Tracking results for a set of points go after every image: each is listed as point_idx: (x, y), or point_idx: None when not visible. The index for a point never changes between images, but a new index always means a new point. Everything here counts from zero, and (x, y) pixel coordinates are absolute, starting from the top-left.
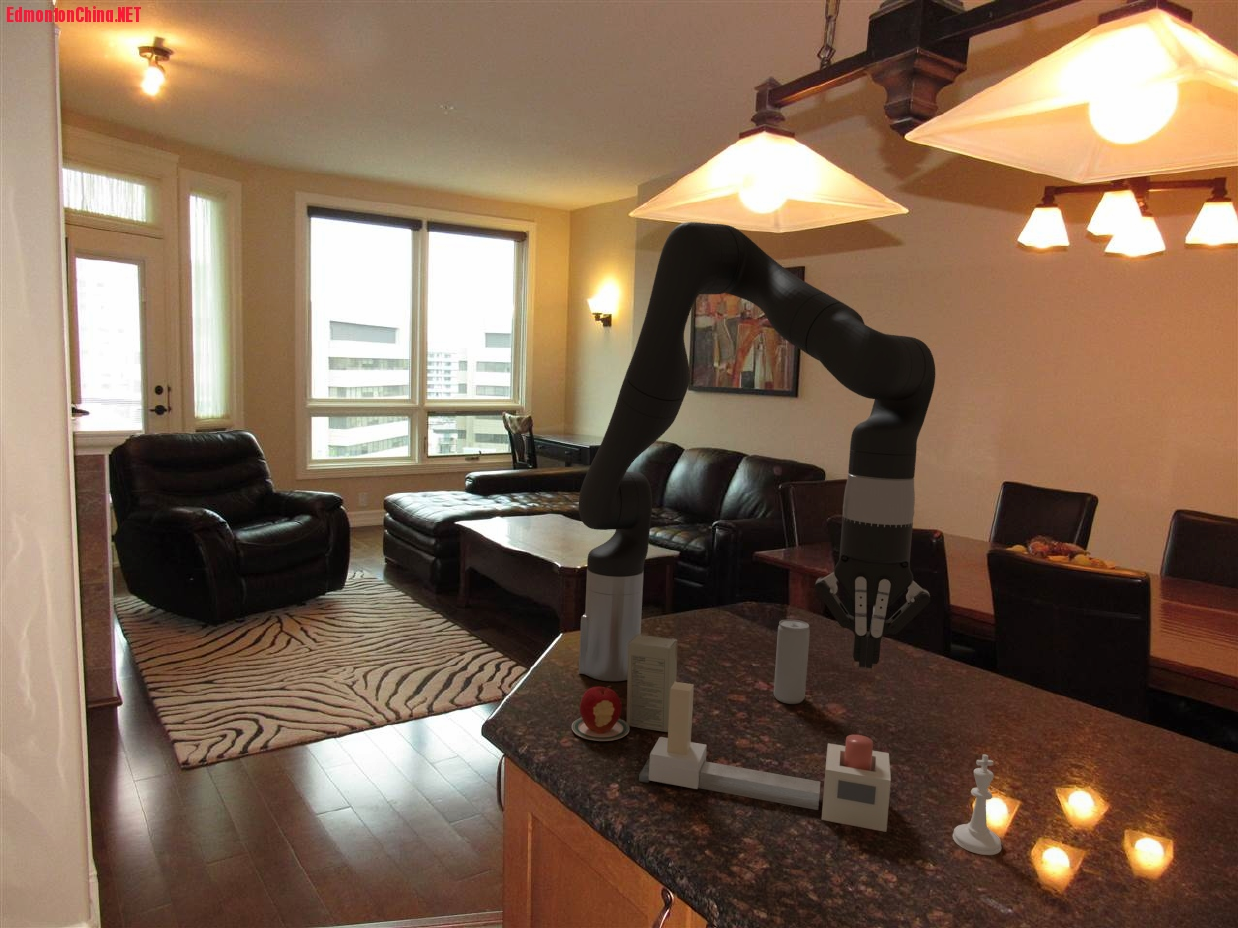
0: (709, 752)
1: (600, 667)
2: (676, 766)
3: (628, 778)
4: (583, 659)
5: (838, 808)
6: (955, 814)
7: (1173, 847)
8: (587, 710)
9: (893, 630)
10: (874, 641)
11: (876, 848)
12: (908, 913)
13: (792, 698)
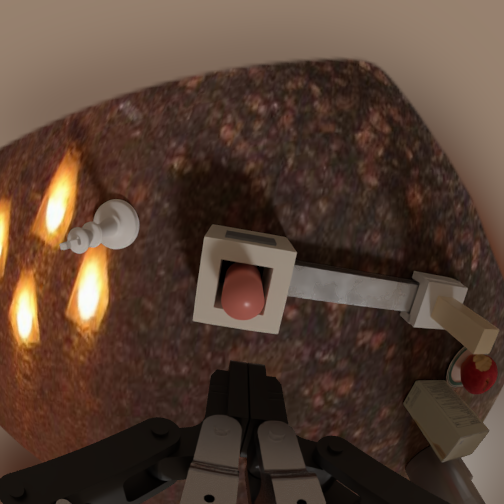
0: (385, 356)
1: None
2: (442, 281)
3: (463, 281)
4: None
5: (269, 237)
6: (127, 278)
7: None
8: (492, 359)
9: (161, 425)
10: (225, 412)
11: (231, 186)
12: (222, 76)
13: None
